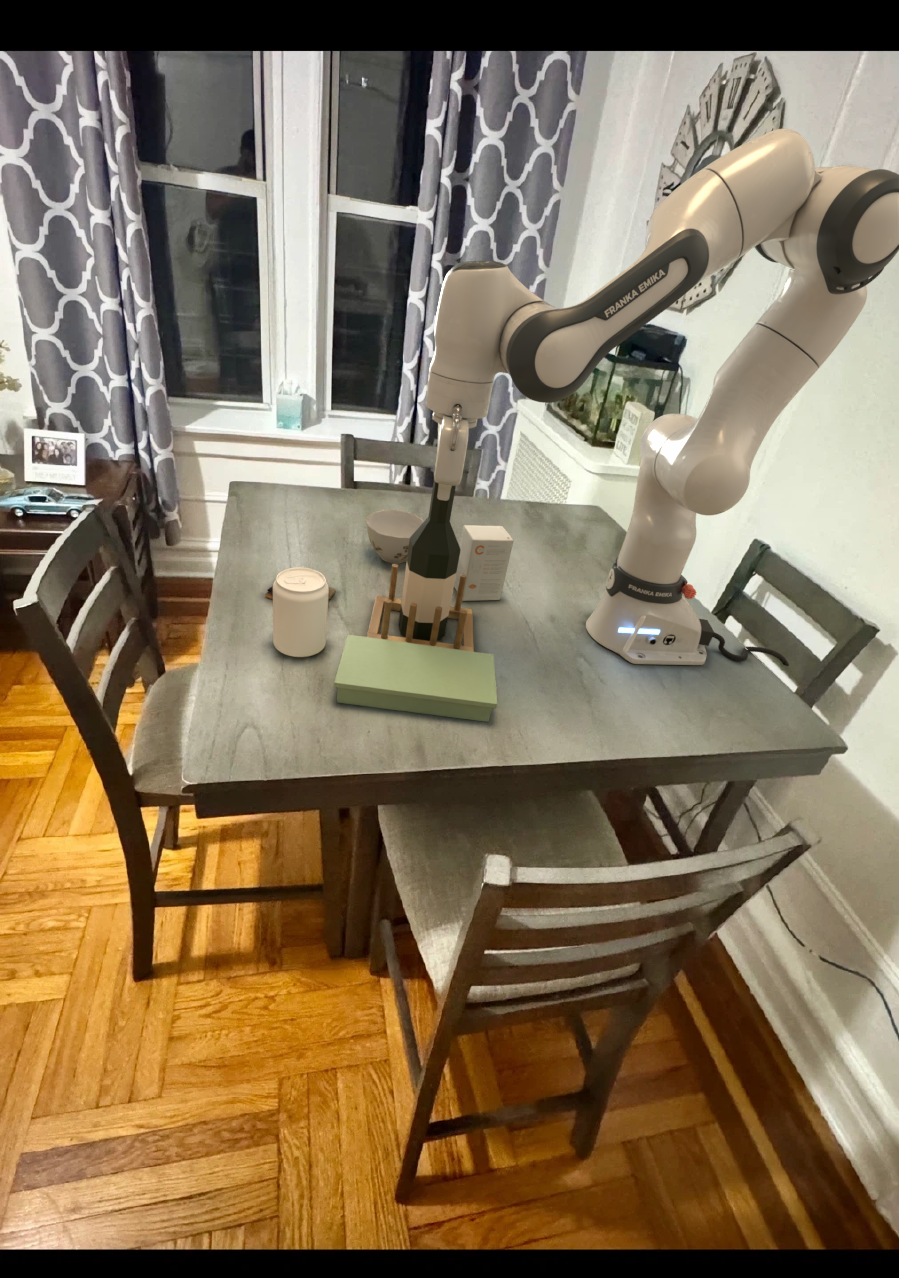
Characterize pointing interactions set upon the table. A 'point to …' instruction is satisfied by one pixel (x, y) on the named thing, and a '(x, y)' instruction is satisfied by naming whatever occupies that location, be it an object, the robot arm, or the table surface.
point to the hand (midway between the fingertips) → (443, 492)
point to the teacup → (392, 533)
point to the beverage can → (300, 612)
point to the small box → (483, 561)
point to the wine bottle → (430, 569)
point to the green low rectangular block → (416, 678)
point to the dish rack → (392, 603)
